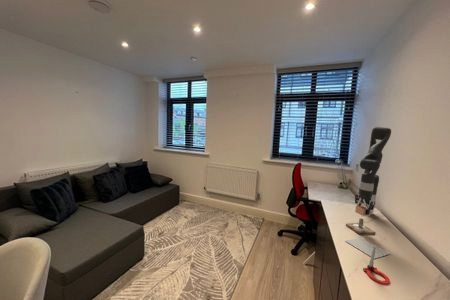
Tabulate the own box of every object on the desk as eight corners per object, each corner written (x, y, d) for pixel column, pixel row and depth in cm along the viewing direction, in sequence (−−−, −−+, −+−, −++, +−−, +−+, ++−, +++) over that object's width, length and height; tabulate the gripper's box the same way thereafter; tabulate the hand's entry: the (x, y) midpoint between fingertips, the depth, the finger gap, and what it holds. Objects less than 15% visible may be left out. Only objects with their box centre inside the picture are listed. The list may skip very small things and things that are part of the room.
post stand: (345, 225, 139) (347, 214, 139) (360, 225, 141) (361, 214, 140) (359, 234, 128) (361, 223, 127) (375, 234, 130) (377, 222, 129)
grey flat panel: (370, 236, 128) (370, 235, 127) (418, 261, 104) (419, 260, 104) (345, 241, 119) (345, 240, 119) (392, 270, 96) (392, 269, 96)
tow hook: (394, 285, 87) (376, 269, 96) (400, 259, 85) (381, 245, 94) (377, 286, 86) (360, 269, 95) (383, 260, 84) (365, 246, 93)
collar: (355, 211, 135) (355, 205, 135) (362, 211, 136) (363, 205, 136) (362, 215, 130) (363, 209, 129) (370, 215, 131) (371, 209, 130)
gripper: (381, 192, 125) (377, 217, 127) (362, 185, 139) (358, 208, 141) (370, 192, 123) (367, 217, 125) (352, 185, 138) (349, 208, 139)
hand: (362, 212), depth 133 cm, fingers closed on collar, 6 cm apart
